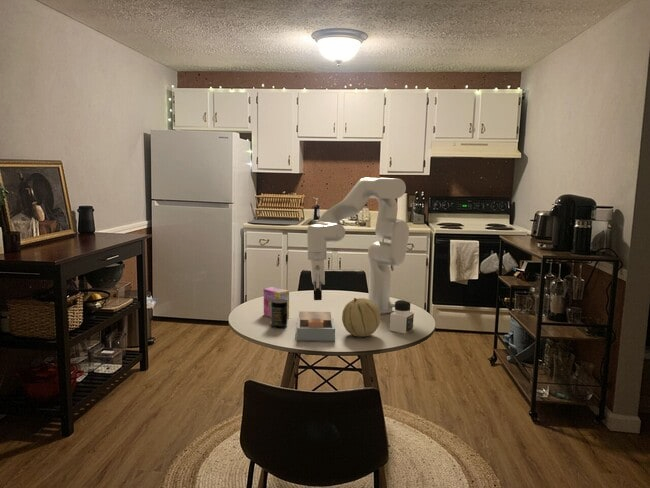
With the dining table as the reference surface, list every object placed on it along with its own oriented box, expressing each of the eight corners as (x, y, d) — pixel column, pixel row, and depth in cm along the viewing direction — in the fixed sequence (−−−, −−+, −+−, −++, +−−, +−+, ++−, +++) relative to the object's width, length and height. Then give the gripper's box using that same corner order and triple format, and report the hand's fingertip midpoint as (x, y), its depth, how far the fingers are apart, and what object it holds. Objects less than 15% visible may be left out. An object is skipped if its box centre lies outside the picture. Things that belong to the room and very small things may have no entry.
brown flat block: (330, 321, 207) (330, 311, 207) (331, 330, 196) (331, 320, 195) (299, 320, 207) (299, 311, 206) (298, 329, 195) (298, 319, 194)
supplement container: (288, 328, 196) (289, 302, 195) (271, 329, 195) (271, 303, 193) (285, 323, 203) (286, 298, 201) (269, 324, 201) (269, 299, 200)
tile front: (323, 319, 188) (323, 322, 185) (322, 333, 189) (323, 336, 186) (308, 319, 187) (308, 322, 184) (308, 333, 188) (308, 336, 185)
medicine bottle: (406, 334, 193) (407, 304, 191) (389, 330, 197) (390, 301, 195) (413, 329, 199) (414, 300, 197) (396, 326, 203) (398, 298, 201)
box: (263, 315, 214) (263, 288, 212) (273, 312, 218) (273, 286, 216) (279, 320, 207) (279, 292, 205) (289, 317, 211) (289, 290, 209)
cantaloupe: (387, 338, 187) (389, 299, 185) (356, 344, 179) (358, 304, 177) (364, 327, 200) (365, 291, 198) (333, 333, 192) (334, 295, 190)
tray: (332, 330, 195) (333, 317, 195) (334, 342, 181) (335, 328, 181) (297, 329, 195) (297, 317, 194) (296, 341, 181) (296, 328, 180)
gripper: (327, 258, 191) (327, 304, 194) (325, 251, 206) (326, 294, 209) (307, 259, 191) (308, 305, 194) (307, 252, 205) (308, 294, 208)
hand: (317, 299), depth 201 cm, fingers closed
